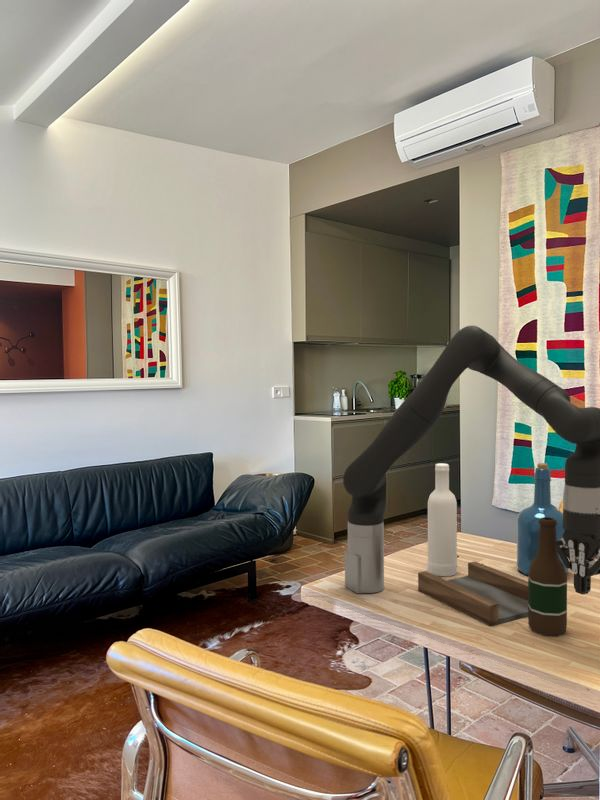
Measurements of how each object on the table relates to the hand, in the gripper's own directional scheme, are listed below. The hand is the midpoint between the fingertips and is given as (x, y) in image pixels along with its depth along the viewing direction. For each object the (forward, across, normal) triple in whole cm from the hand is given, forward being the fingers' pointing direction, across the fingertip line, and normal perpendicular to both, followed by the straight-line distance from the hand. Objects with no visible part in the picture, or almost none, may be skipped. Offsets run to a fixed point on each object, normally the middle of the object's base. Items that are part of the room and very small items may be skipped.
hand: (582, 592), depth 123 cm
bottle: (+11, -49, +5) cm, 50 cm away
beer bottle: (+11, -9, 0) cm, 14 cm away
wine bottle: (+11, -36, +29) cm, 47 cm away
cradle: (+11, -28, 0) cm, 30 cm away
